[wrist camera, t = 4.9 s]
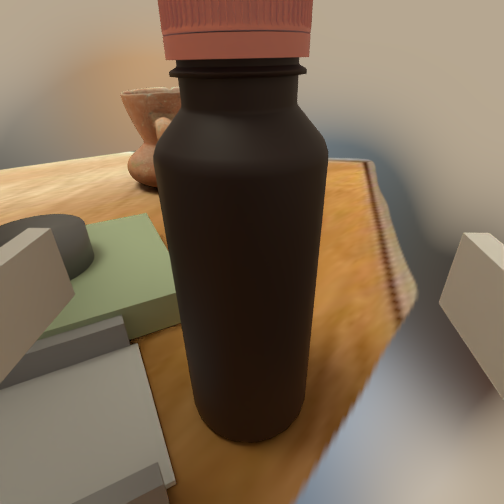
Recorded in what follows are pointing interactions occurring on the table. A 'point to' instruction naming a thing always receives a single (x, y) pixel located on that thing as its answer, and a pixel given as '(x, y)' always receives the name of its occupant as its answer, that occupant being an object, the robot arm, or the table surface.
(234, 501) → the table surface
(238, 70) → the vinegar
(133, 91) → the ceramic jug
